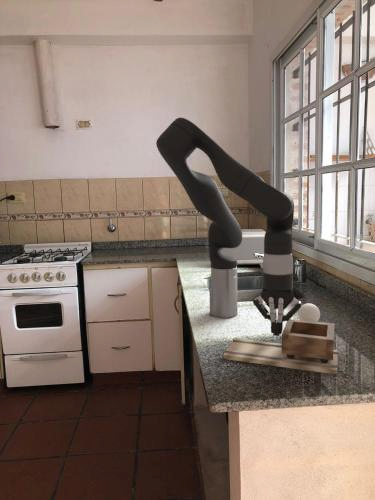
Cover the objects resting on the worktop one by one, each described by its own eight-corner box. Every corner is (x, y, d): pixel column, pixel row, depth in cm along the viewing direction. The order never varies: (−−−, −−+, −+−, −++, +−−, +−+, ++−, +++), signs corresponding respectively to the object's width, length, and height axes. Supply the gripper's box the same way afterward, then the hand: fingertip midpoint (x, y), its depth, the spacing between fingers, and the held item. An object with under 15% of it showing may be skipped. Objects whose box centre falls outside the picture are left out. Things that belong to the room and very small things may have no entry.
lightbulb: (305, 345, 109) (306, 307, 108) (293, 337, 115) (294, 302, 114) (323, 342, 111) (324, 305, 109) (311, 335, 117) (312, 299, 115)
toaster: (274, 268, 218) (274, 232, 215) (213, 269, 219) (213, 233, 215) (267, 261, 237) (268, 228, 234) (212, 262, 238) (211, 229, 234)
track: (223, 358, 102) (223, 353, 102) (234, 342, 113) (234, 336, 113) (337, 374, 92) (337, 368, 92) (337, 354, 103) (337, 348, 103)
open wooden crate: (281, 360, 96) (281, 334, 95) (287, 342, 107) (287, 319, 106) (332, 366, 92) (333, 340, 91) (333, 347, 103) (334, 323, 102)
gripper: (248, 271, 98) (248, 336, 101) (303, 275, 93) (301, 343, 96) (255, 266, 105) (254, 327, 108) (305, 268, 100) (304, 332, 103)
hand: (276, 334), depth 102 cm, fingers closed
